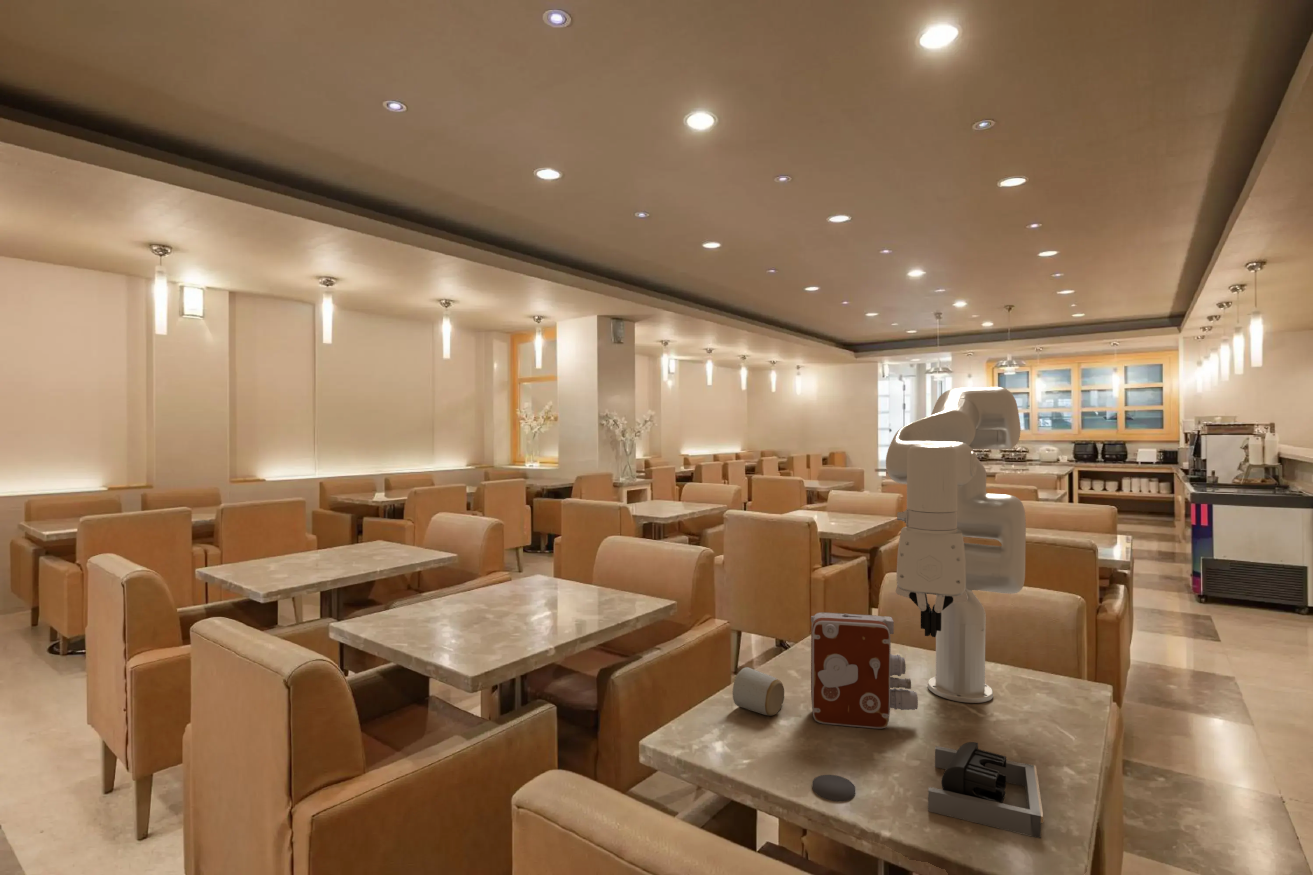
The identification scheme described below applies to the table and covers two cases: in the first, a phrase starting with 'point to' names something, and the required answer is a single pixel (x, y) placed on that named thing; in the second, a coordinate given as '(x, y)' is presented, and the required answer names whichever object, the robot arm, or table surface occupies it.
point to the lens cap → (833, 788)
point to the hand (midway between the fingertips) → (930, 633)
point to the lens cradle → (990, 810)
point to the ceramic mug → (758, 692)
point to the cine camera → (856, 671)
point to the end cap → (975, 774)
